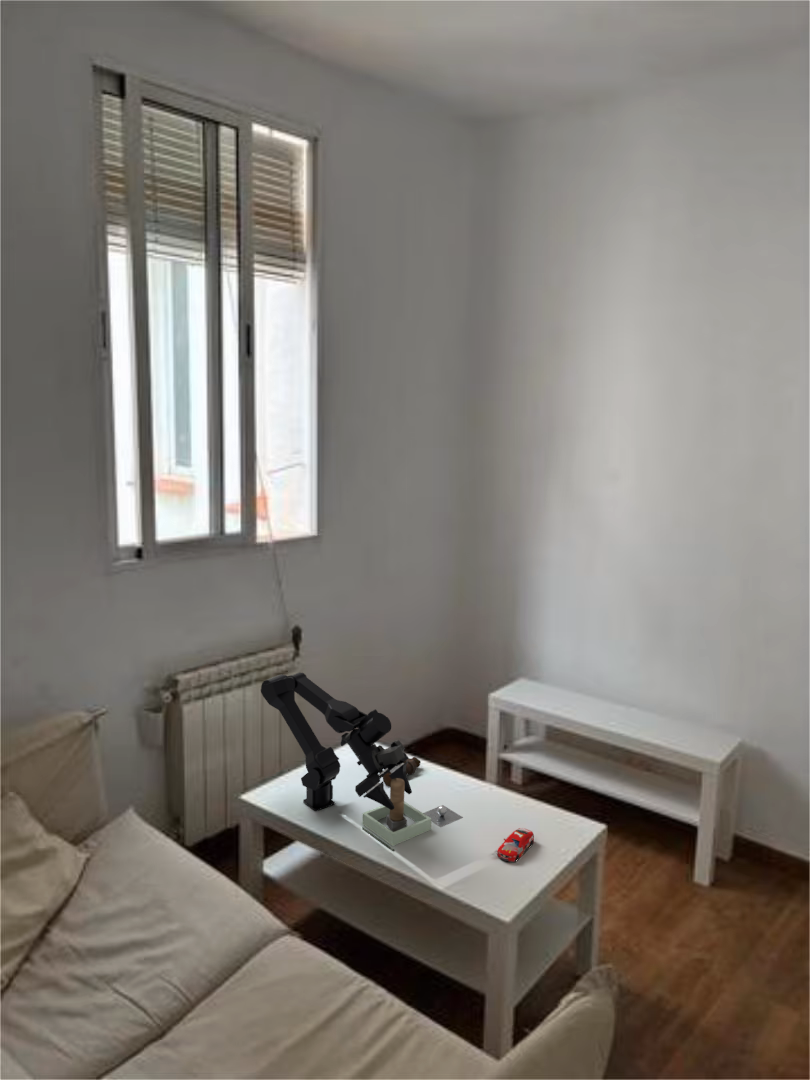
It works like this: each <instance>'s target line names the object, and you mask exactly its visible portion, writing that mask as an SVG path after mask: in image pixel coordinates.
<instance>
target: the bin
mask: <svg viewBox="0 0 810 1080" xmlns="http://www.w3.org/2000/svg"><path fill="white" fill-rule="evenodd" d="M423 813H424V812H422V811H420V810H418V808H416V807H414V806H412V805H411V804H410V803H408V802H406V801H405V800H404V815H405V817H407V818H409V819H411V820H413V821H414V822H415V823H412V824H410V825H407V827H405V828H403V829H400V830H398V831H395V832H392V831H391V830H390V829H389V827H388V826H387V827H386V825H384V824H382V823H381V822H379V820H382V819H384V818H386V815H390V809H389V808H387V807H385V806H383V805H380V806H379V807H376V808H372V809H371V810H370V809H369V810H368V811H365V812H362V822H361V823H362V825H363V826H362V828H361V830H362V831H364V832H365V833H367V834H368V835H369V834H370V835H369V836H371V837H372V838H373V839H375V840H376V841H377V842H379V843H380V844H381V845H383V846H385V848H386V849H388V850H390V851H391V852H394V851H396V850H395V849H394V848H393V847H394V846H396V845H398V844H400V843H403V842H405V841H408V840H410V839H412V838H414V837H417V836H419V835H422V834H424V833H426V832H428V831H431V830H432V821H431V818H430V817H428V816H427V815H425V814H423ZM365 827H366V828H367V829H366V828H365ZM369 830H370V831H371V832H370V831H369ZM373 833H374V834H375V835H374V834H373ZM376 835H377V836H378V837H377V836H376ZM382 839H383V840H384V841H383V840H382ZM386 842H387V843H386ZM389 844H390V845H389ZM391 846H392V847H391Z"/></svg>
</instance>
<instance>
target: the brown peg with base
mask: <svg viewBox="0 0 810 1080" xmlns="http://www.w3.org/2000/svg"><path fill="white" fill-rule="evenodd" d="M389 788H390V789H389V790H390V791H389V793H390V795H389V798H390V800H391V801H392V803H393V805H394V807H395V808H394V809H393V810H390V815H386V817H385V818H386V821H385V823H386V825H385V826H387V828H388V829H390V830H391V831H392V832H395V831H398V830H400V829H403V828H405V827H407V826H408V825H407V824H408V819H406V816H404V801H405V791H404V788H405V781H404V780H403V779H400V778H395V779H392V780H391V785H390V787H389Z"/></svg>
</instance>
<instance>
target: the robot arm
mask: <svg viewBox="0 0 810 1080" xmlns="http://www.w3.org/2000/svg"><path fill="white" fill-rule="evenodd" d="M260 687H261V688H260V693H261V695H262V697H263V698H264V699H265V701H266V702H267V703H268V705H269V706H271V707H272V708H274V709H276V710H278V711H279V712H280V715H281V716H282V718H283V719H284V721H285V723H286V724H287V725H286V726H288V728H289V730H290V731H291V733H292V735H293V737H294V739H296V741H297V744H298V745H299V746H300V748H301V750H302V751H303V754H304V756H305V768H306V771H307V773H306V774H303V776H301V778H300V780H301V785H302V786H303V787H304V788H306V791H305V792H306V796H305V797H306V798H305V799H303V800H302V801H303V803H304V804H305V803H306V804H305V805H307V806H308V807H309V806H310V807H309V808H311V809H312V810H313V809H314V810H313V811H314V812H315V811H316V812H317V810H318V811H319V810H323V809H325V808H328V807H331V806H334V805H335V804H336V802H335V801H334V800H333V797H334V794H333V793H334V786H333V784H332V783H333V781H334V780H335V779H336V778H337V776H338V775H339V774H340V771H341V763H340V758H339V756H338V755H337V754H336V753H335V750H334V749H333V747H331V746H330V747H328V748H326V747H324V745H322V744H321V742H320V741H319V739H318V738H317V735H316V734H315V732H314V731H313V729H312V727H311V726H310V724H309V722H308V720H307V719H306V717H305V716H304V714H303V712H302V711H301V709H300V707H299V705H298V704H297V702H296V699H295V698H296V697H295V696H296V695H295V693H296V694H297V695H299V696H300V697H301V698H303V700H305V701H306V702H307V703H309V704H310V705H311V706H313V707H314V708H315V709H317V711H319V712H320V713H322V715H323V716H324V718H325V720H326V723H327V724H328V726H330V728H332V729H333V731H335V733H337V734H341V741H340V746H341V747H343V746H345V745H346V744H347V745H348V747H349V748H350V749H351V751H352V752H353V755H355V757H356V758H357V759H358V760H357V761H356V764H357V765H358V766H361V765H362V766H363V768H364V769H365V771H366V772H367V774H366V775H365V776H366V777H365V778H364V779H363V780H361V782H358V784H357V785H355V789H354V791H355V793H356V794H357V796H358V797H359V798H361V797H362V796H363V798H364V799H365V798H368V799H370V800H372V801H374V802H376V803H378V804H379V805H380V806H385V807H387V808H389V809H390V810H393V809H394V808H395V807H394V805H393V803H392V801H391V800H390V796H389V795H388V794H387V792H386V790H385V788H384V786H385V783H384V781H381V779H383V776H384V775H385V774H387V773H390V772H391V774H390V775H389V777H390V778H391V779H395V778H400V779H403V780H404V781H405V788H404V793H406V794H408V795H410V794H412V792H413V791H412V787H411V785H410V782H409V779H408V774H406V765H407V764H408V761H407V762H406V763H403V762H405V761H406V760H407V759H408V758H409V755H407V753H406V752H405V750H406V747H405V746H404V745H403V743H401V740H399V739H397V740H394V741H392V742H391V743H390V746H389V747H388V748H384V746H382V745H380V744H379V745H378V746H377V744H376V743H377V742H378V741H380V740H381V739H382V738H383V737H384V736H386V735H388V733H390V732H391V729H392V722H391V721H390V718H389V717H387V716H386V715H385V714H384V713H381V712H378V710H377V709H373V710H371V711H369V712H368V713H367V714H366V713H365V712H362V711H361V710H359V709H358V708H357V707H356V706H355V705H352V704H351V703H349V702H346V701H344V700H339V699H336V698H334V697H333V696H332V695H331V694H329V693H328V692H326V691H325V690H324V689H323V688H321V687H320V686H319V685H317V684H316V683H315V682H313V680H311V679H309V677H307V675H306V674H305V673H304V672H300V671H299V672H297V673H294V674H290V675H286V674H283V673H282V674H278V675H275V676H273V677H271V678H268V679H267V678H266V680H263V681H262V682H261V686H260ZM343 733H344V734H343Z"/></svg>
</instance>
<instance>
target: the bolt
mask: <svg viewBox="0 0 810 1080" xmlns="http://www.w3.org/2000/svg"><path fill="white" fill-rule="evenodd" d="M407 761H408V764H407V765H406V774H407V776H408V775H410V776H411V775H414V774H415V772H416V771H417V769H418V768H419V767H420V766H421V764H422V763H421V760H420V759H419V758H417V757H416V756H414V757H412V758H409V757H408V759H407V760H406V761H405V762H403V763H406V762H407ZM390 774H391V772H390V773H387V774H385V775H384V776H383V777H382V782H383V784H384V786H386V787H388V788H390V785H391V780H392V779H391V778H390V777H389V775H390Z"/></svg>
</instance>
